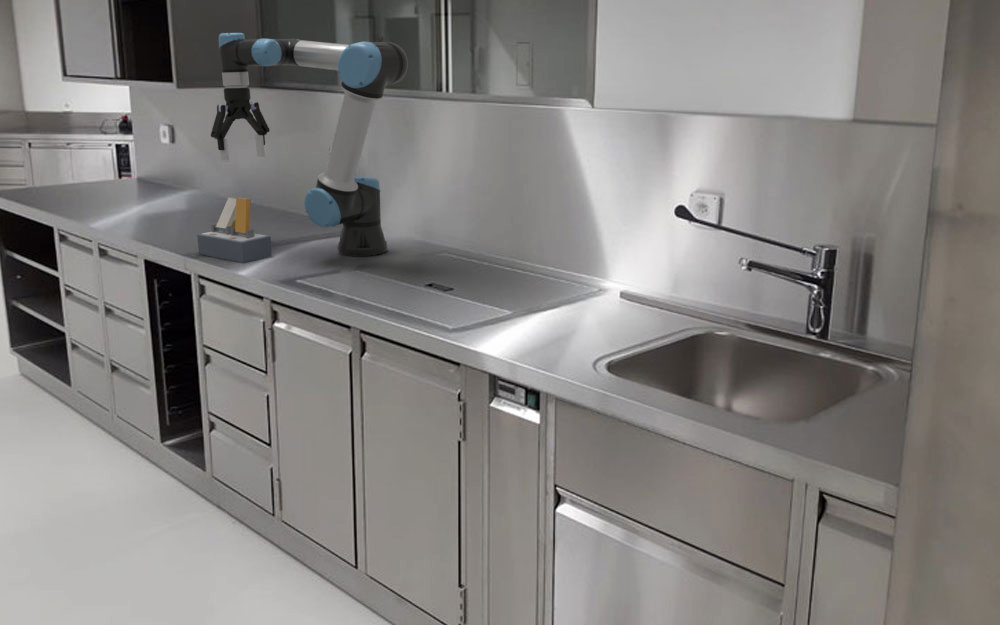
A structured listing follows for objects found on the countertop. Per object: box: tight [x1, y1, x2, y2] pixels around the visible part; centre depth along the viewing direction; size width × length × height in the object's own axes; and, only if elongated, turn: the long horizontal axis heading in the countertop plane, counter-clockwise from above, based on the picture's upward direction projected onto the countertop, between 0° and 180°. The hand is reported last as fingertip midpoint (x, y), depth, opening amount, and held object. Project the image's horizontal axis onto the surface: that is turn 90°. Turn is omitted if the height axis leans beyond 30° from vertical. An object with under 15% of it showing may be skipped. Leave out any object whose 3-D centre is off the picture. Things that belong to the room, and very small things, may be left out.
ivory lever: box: [215, 197, 237, 232], centre depth 282 cm, size 6×2×11 cm
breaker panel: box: [197, 222, 273, 264], centre depth 279 cm, size 20×11×9 cm, turn 55°
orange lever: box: [234, 197, 252, 235], centre depth 275 cm, size 6×2×11 cm, turn 55°
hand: (243, 159), depth 281 cm, fingers open, 13 cm apart
